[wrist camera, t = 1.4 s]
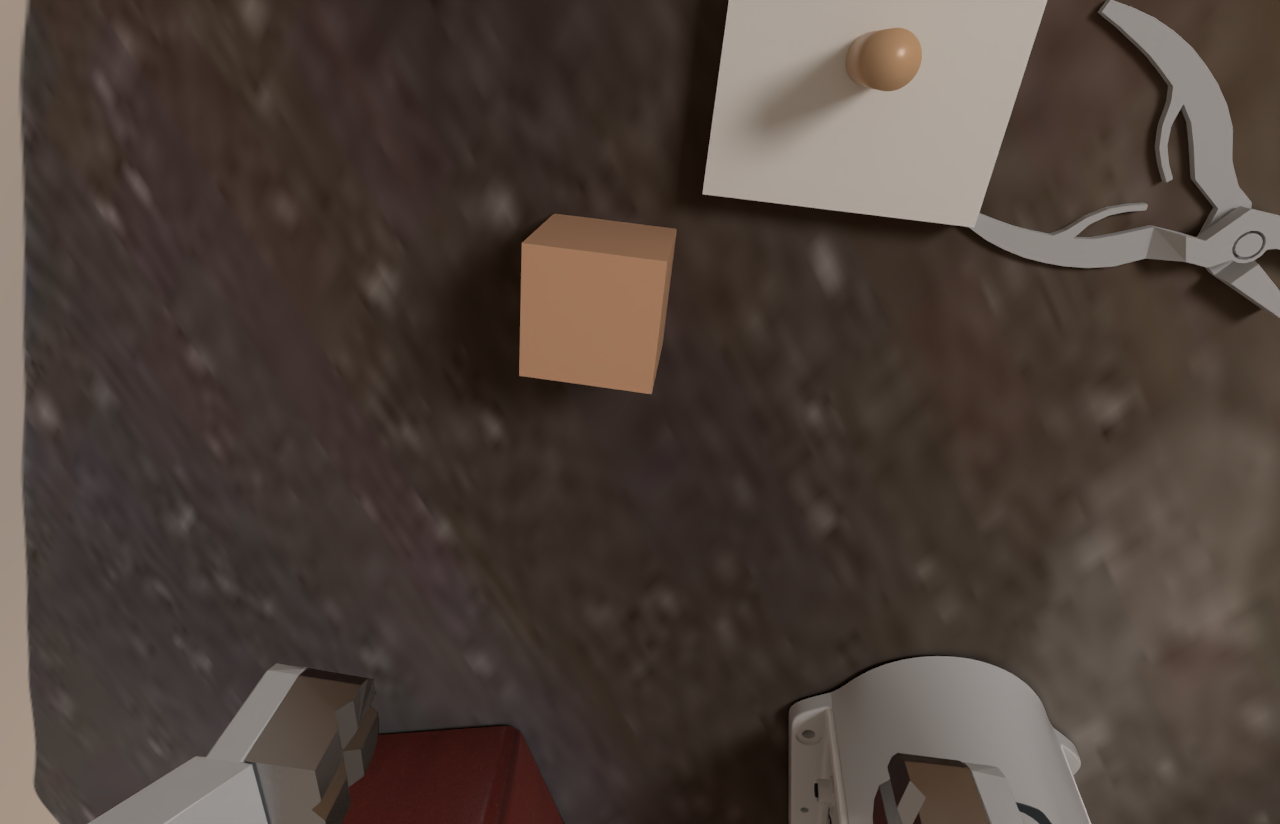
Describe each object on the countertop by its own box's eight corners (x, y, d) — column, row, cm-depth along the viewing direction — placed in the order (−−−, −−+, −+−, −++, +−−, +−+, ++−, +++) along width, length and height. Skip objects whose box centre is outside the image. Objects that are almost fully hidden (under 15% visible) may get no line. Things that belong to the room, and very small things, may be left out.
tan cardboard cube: (662, 344, 36) (651, 393, 31) (549, 329, 36) (519, 375, 31) (676, 228, 33) (667, 261, 28) (554, 213, 34) (521, 243, 28)
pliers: (1126, -10, 26) (1426, 182, 28) (1106, -6, 28) (1392, 176, 29) (956, 224, 31) (1224, 376, 33) (946, 216, 32) (1203, 363, 34)
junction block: (964, 220, 32) (1006, 250, 27) (703, 188, 32) (699, 212, 28) (1064, -101, 26) (1141, -136, 21) (746, -132, 27) (751, -173, 22)
